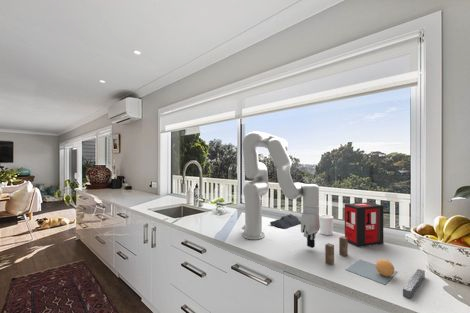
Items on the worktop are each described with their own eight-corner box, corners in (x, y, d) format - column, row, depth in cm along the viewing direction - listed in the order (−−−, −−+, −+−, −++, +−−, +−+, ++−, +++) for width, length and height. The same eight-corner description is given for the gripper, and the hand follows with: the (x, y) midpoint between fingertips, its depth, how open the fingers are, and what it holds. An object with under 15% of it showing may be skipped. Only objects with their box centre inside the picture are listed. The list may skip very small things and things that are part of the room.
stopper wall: (403, 296, 75) (403, 288, 75) (418, 275, 88) (418, 268, 88) (410, 299, 74) (410, 291, 74) (424, 277, 87) (424, 270, 86)
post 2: (339, 254, 107) (339, 237, 107) (341, 253, 108) (341, 236, 108) (345, 256, 105) (345, 239, 105) (347, 254, 106) (347, 237, 106)
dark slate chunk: (266, 225, 154) (266, 218, 154) (285, 219, 168) (285, 212, 168) (285, 230, 142) (285, 223, 142) (304, 223, 157) (304, 216, 157)
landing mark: (345, 269, 92) (345, 269, 92) (359, 259, 101) (359, 259, 101) (385, 284, 82) (385, 284, 82) (397, 271, 91) (397, 271, 91)
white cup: (316, 232, 138) (316, 215, 138) (326, 230, 141) (326, 214, 141) (325, 236, 131) (325, 218, 130) (336, 234, 133) (336, 217, 133)
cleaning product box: (369, 237, 128) (369, 202, 128) (383, 243, 119) (383, 205, 119) (344, 240, 124) (344, 204, 124) (357, 247, 115) (357, 207, 115)
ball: (387, 282, 85) (370, 270, 89) (392, 276, 89) (376, 265, 93) (394, 270, 83) (377, 258, 87) (399, 264, 87) (382, 254, 91)
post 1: (325, 263, 98) (325, 244, 98) (328, 261, 100) (328, 243, 100) (331, 265, 96) (331, 246, 96) (334, 263, 98) (334, 244, 98)
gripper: (312, 206, 120) (312, 240, 120) (295, 210, 110) (295, 248, 110) (325, 208, 114) (325, 245, 114) (309, 213, 104) (309, 253, 105)
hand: (310, 246), depth 112 cm, fingers closed
